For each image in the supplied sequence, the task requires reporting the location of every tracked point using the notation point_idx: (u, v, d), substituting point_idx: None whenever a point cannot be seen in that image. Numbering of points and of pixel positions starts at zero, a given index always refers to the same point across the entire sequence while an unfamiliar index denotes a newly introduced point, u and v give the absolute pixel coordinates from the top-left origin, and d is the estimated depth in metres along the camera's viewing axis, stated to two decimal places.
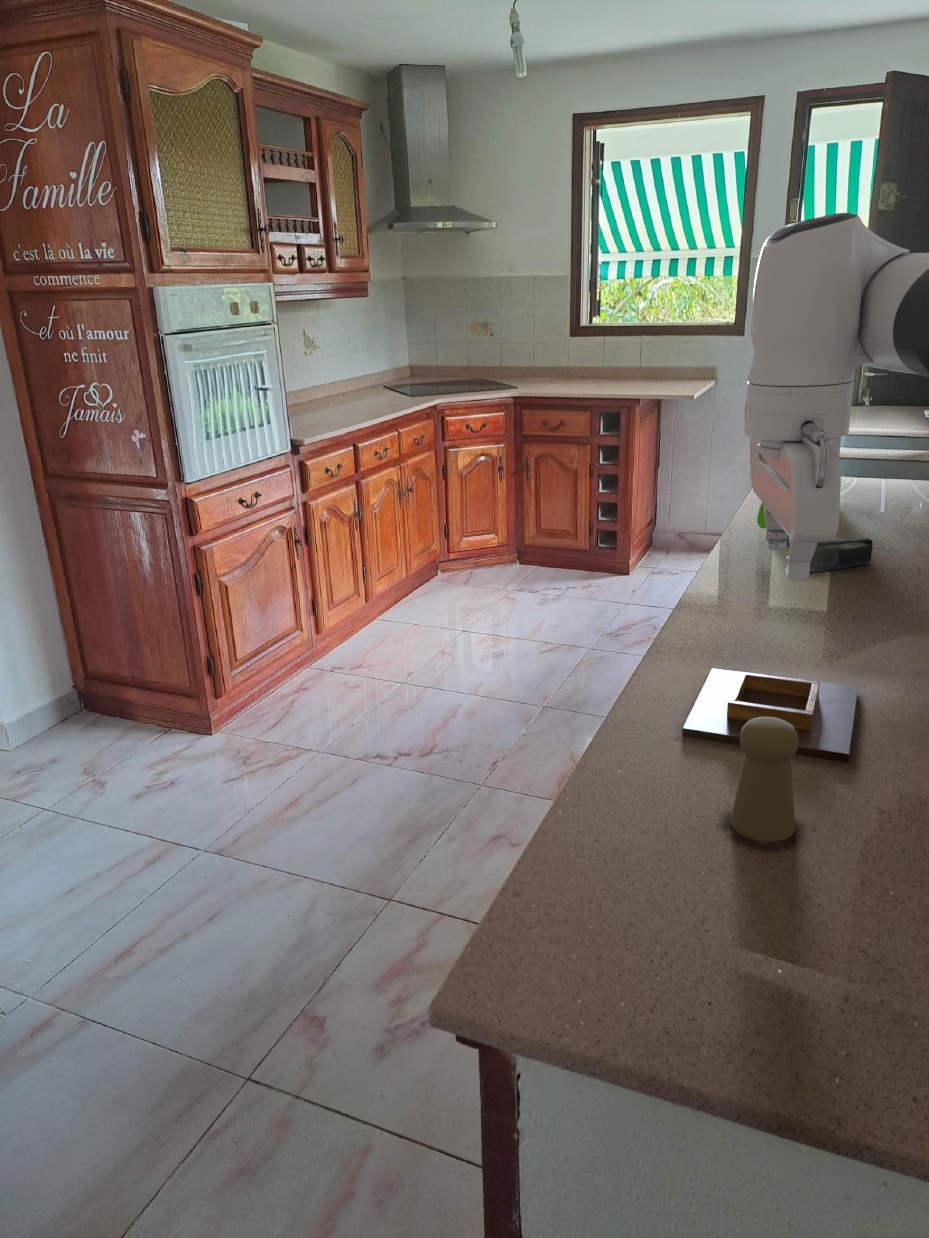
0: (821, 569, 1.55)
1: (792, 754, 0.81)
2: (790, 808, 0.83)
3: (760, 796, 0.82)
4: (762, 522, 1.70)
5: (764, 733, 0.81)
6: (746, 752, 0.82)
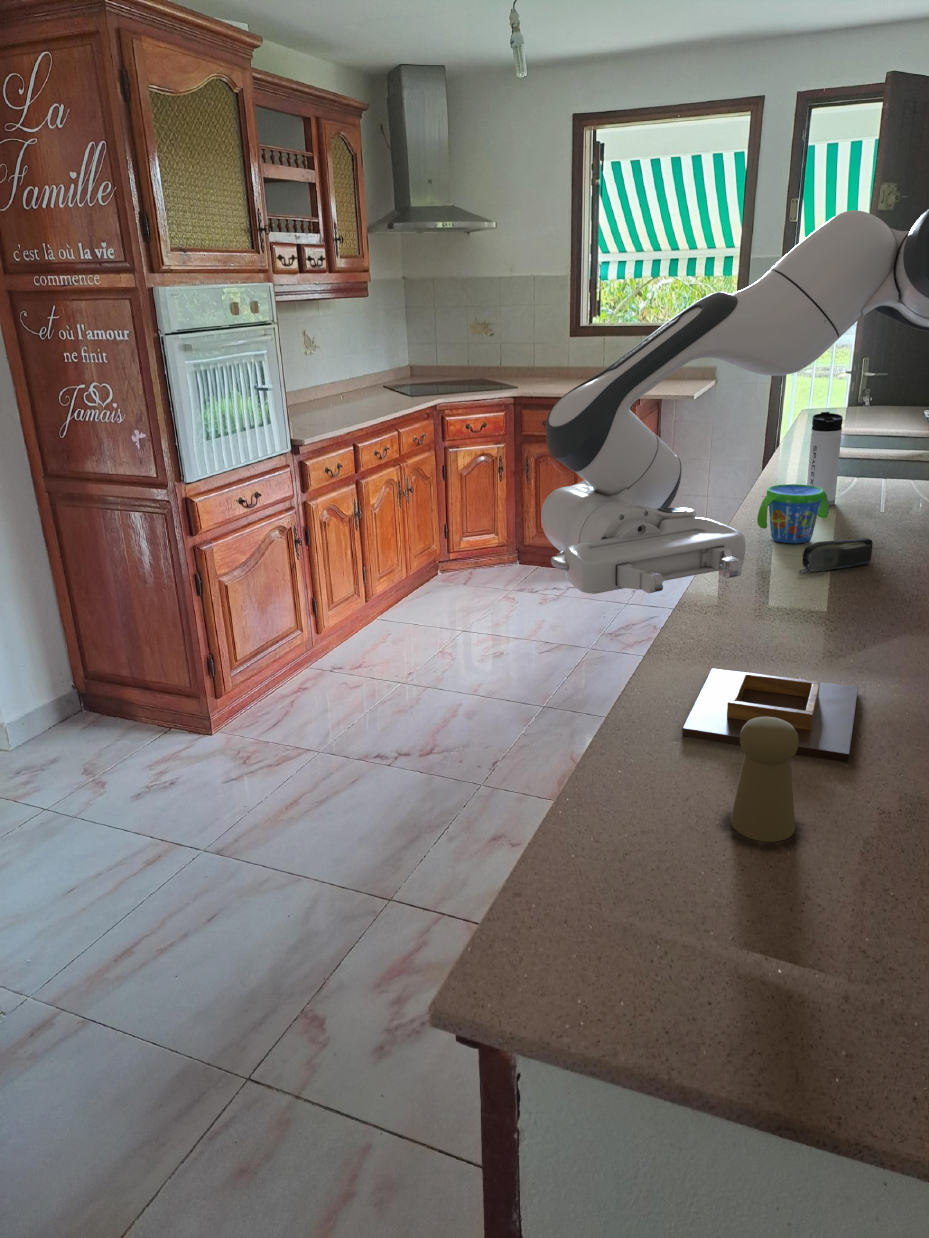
0: (821, 569, 1.55)
1: (792, 754, 0.81)
2: (790, 808, 0.83)
3: (760, 796, 0.82)
4: (762, 522, 1.70)
5: (764, 733, 0.81)
6: (746, 752, 0.82)
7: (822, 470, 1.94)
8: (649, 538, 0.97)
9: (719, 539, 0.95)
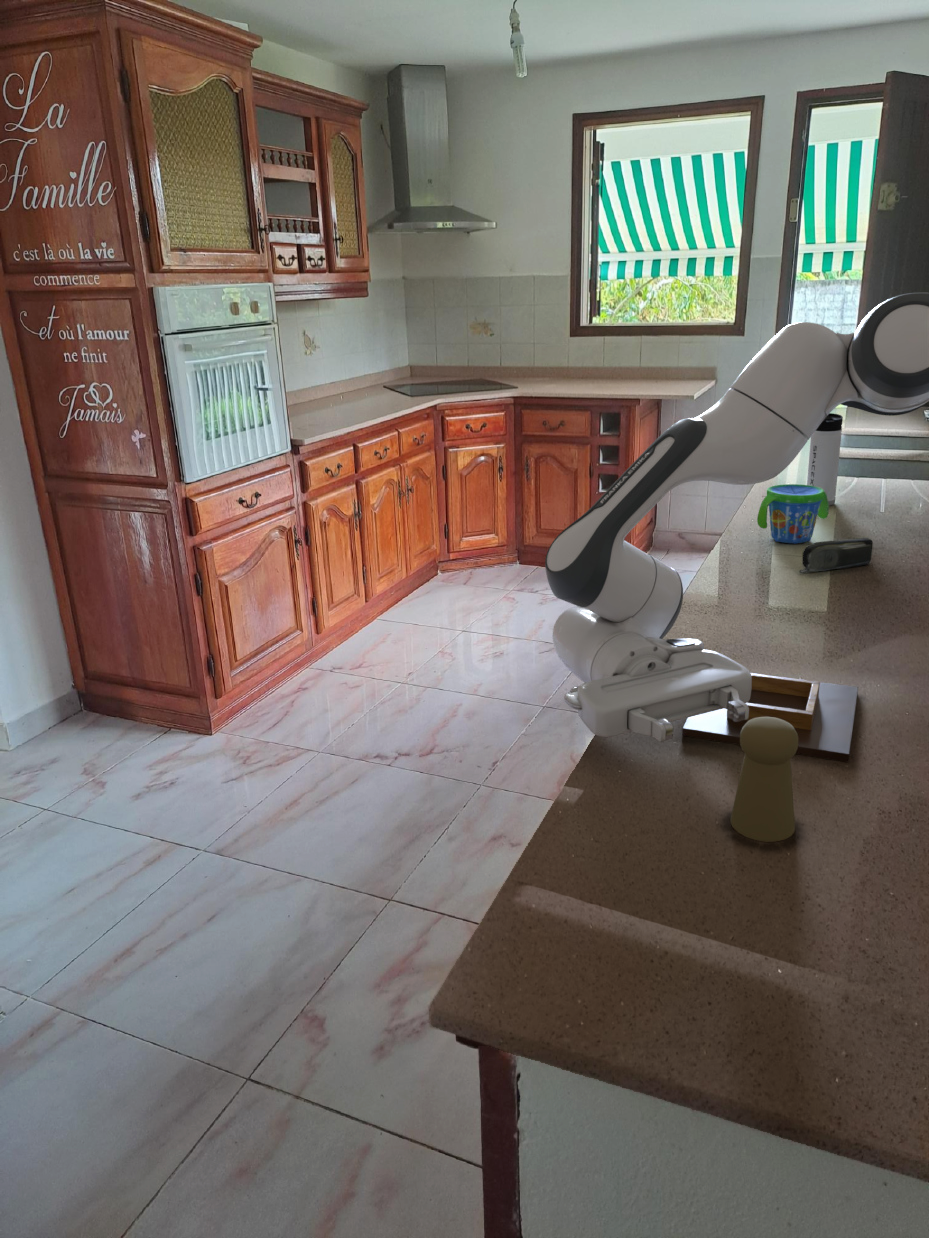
0: (821, 569, 1.55)
1: (792, 754, 0.81)
2: (790, 808, 0.83)
3: (760, 796, 0.82)
4: (762, 522, 1.70)
5: (764, 733, 0.81)
6: (746, 752, 0.82)
7: (822, 470, 1.94)
8: (658, 675, 1.01)
9: (726, 678, 0.98)
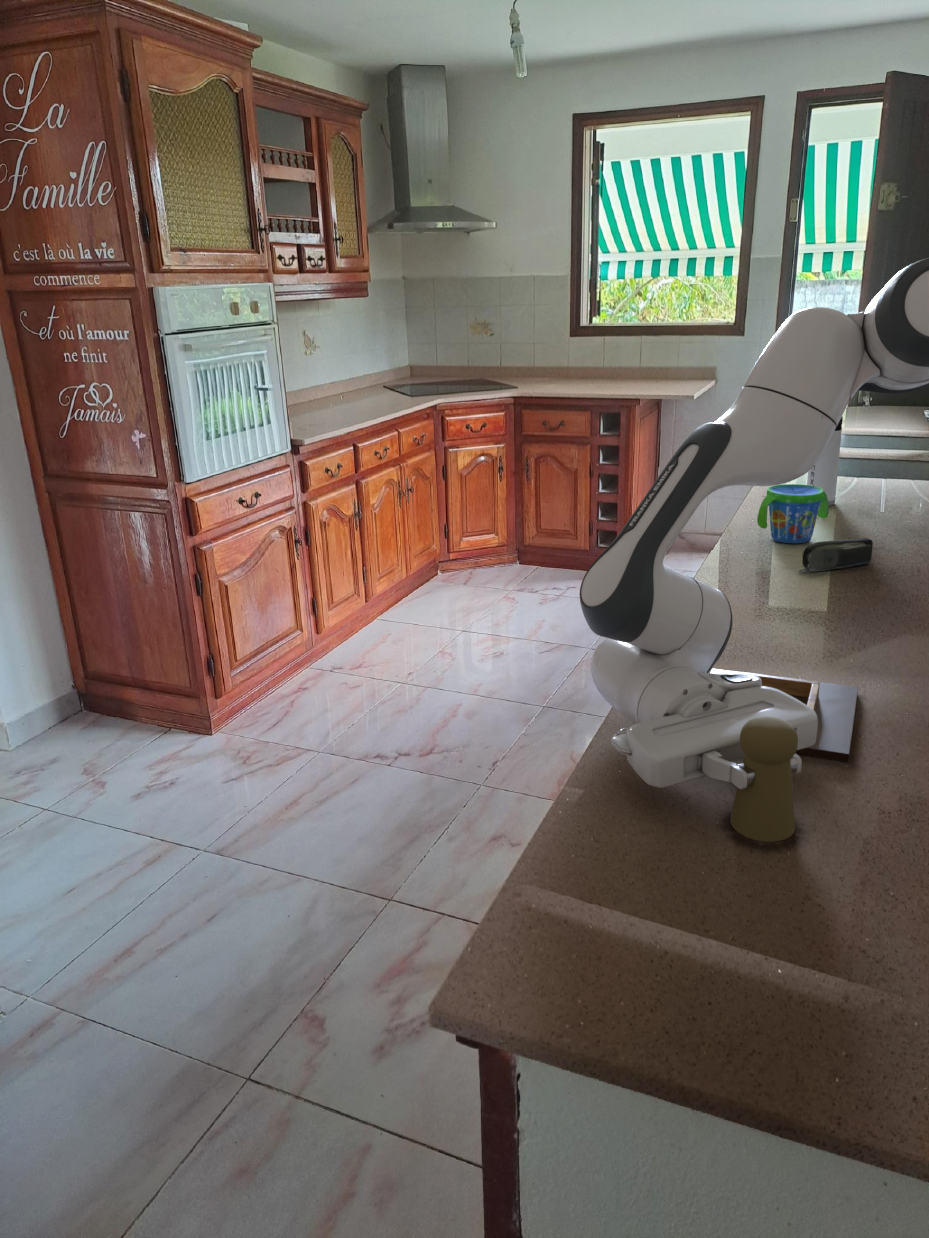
0: (821, 569, 1.55)
1: (792, 754, 0.81)
2: (790, 808, 0.83)
3: (760, 796, 0.82)
4: (762, 522, 1.70)
5: (764, 733, 0.81)
6: (746, 752, 0.82)
7: (822, 470, 1.94)
8: (714, 715, 0.91)
9: (791, 720, 0.89)
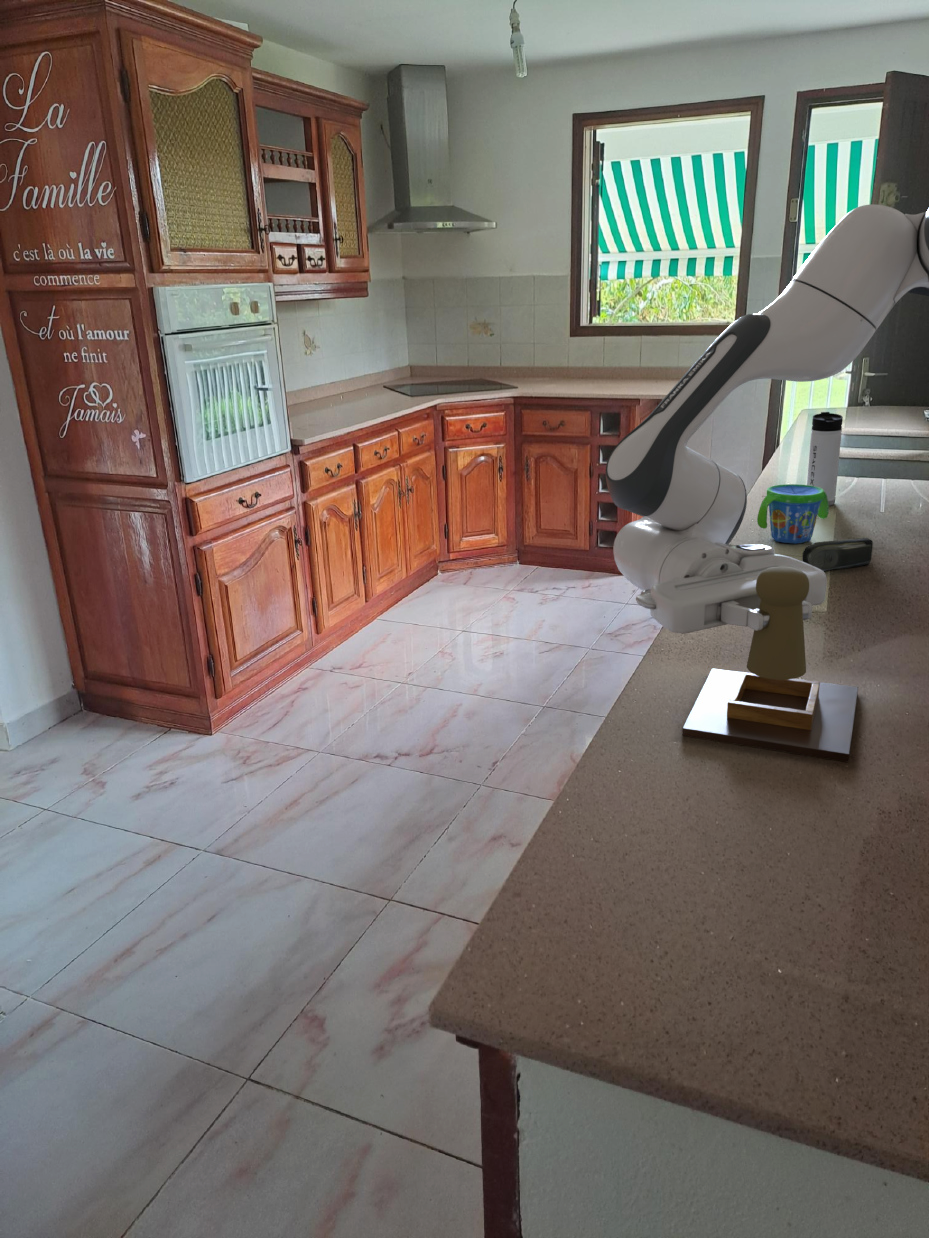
0: (821, 569, 1.55)
1: (804, 596, 0.89)
2: (802, 649, 0.91)
3: (774, 637, 0.90)
4: (762, 522, 1.70)
5: (778, 576, 0.88)
6: (762, 596, 0.90)
7: (822, 470, 1.94)
8: (731, 576, 0.99)
9: None
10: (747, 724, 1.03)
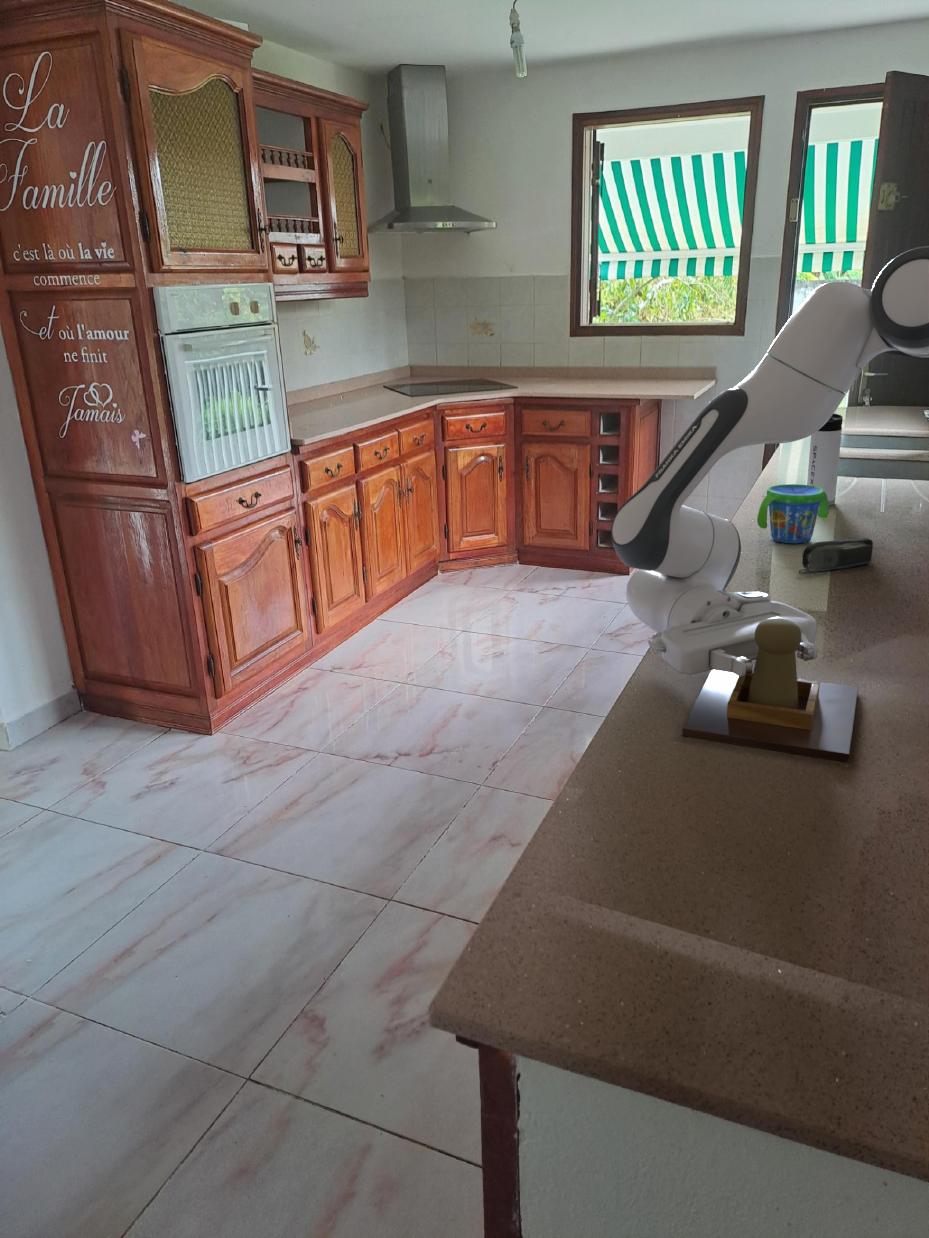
0: (821, 569, 1.55)
1: (796, 645, 1.02)
2: (795, 690, 1.04)
3: (770, 680, 1.03)
4: (762, 522, 1.70)
5: (774, 628, 1.01)
6: (760, 645, 1.03)
7: (822, 470, 1.94)
8: (732, 622, 1.12)
9: None
10: (747, 724, 1.03)
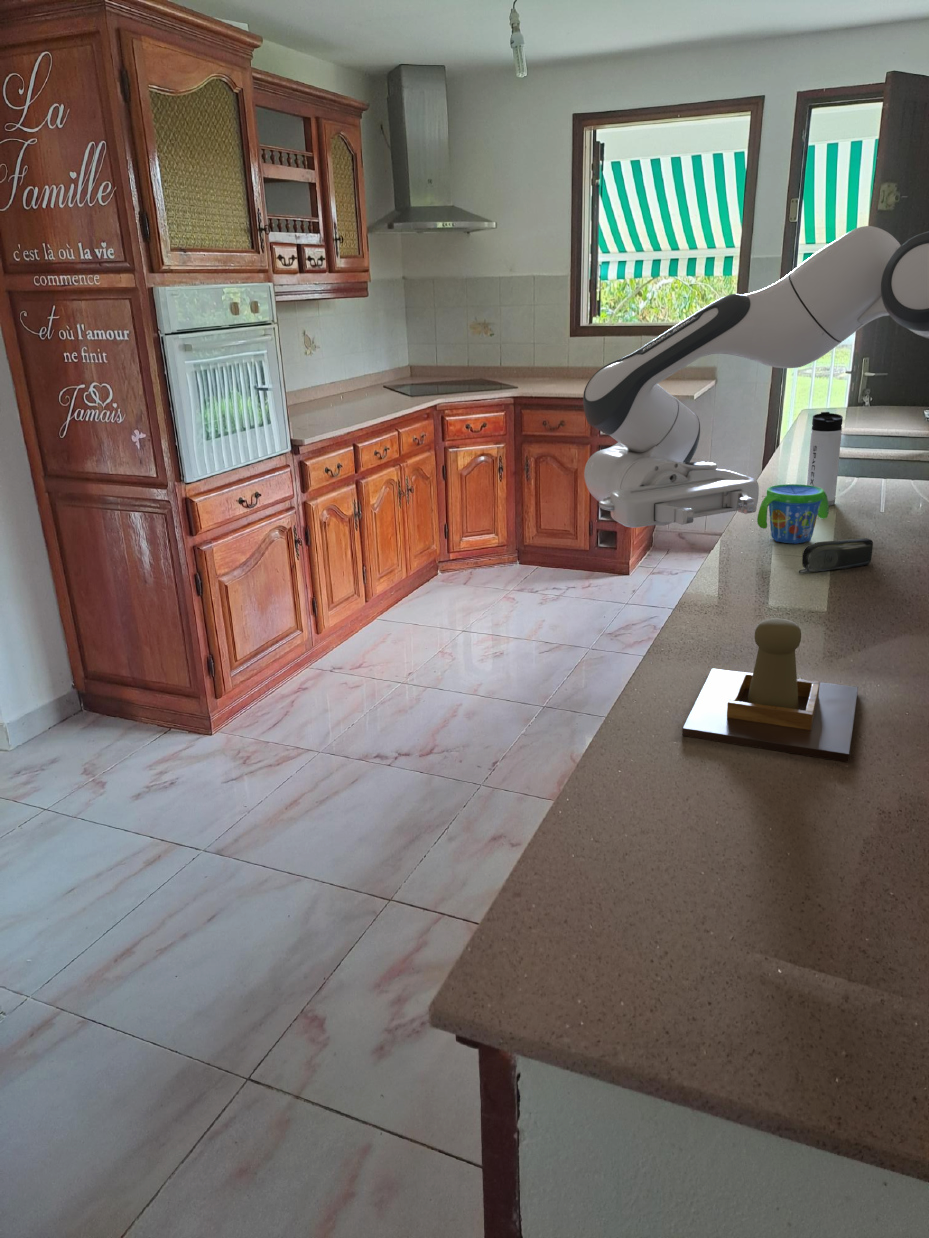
0: (821, 569, 1.55)
1: (796, 645, 1.02)
2: (795, 690, 1.04)
3: (770, 680, 1.03)
4: (762, 522, 1.70)
5: (774, 628, 1.01)
6: (759, 645, 1.03)
7: (822, 470, 1.94)
8: (679, 485, 1.18)
9: (737, 484, 1.15)
10: (747, 724, 1.03)
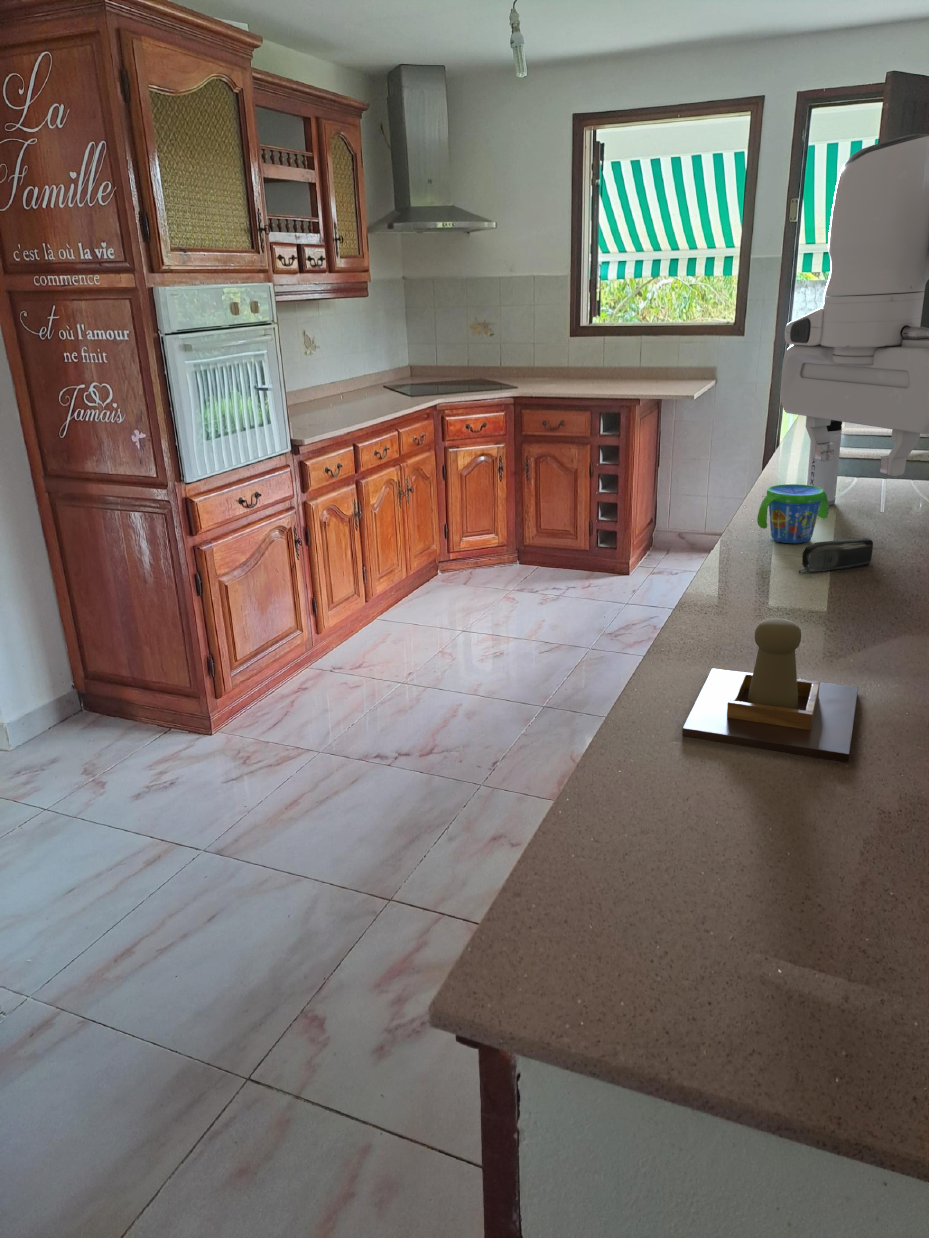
0: (821, 569, 1.55)
1: (796, 645, 1.02)
2: (795, 690, 1.04)
3: (770, 680, 1.03)
4: (762, 522, 1.70)
5: (774, 628, 1.01)
6: (759, 645, 1.03)
7: (822, 470, 1.94)
8: None
9: None
10: (747, 724, 1.03)
